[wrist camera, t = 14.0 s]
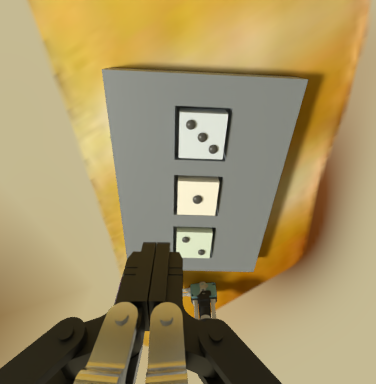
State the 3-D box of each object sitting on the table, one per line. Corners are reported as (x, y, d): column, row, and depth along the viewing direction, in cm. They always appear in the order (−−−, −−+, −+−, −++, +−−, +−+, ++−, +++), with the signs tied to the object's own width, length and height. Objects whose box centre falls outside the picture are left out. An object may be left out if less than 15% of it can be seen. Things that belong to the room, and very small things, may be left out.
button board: (110, 67, 24) (101, 69, 22) (295, 76, 25) (308, 79, 22) (132, 254, 39) (128, 269, 36) (248, 257, 40) (253, 271, 37)
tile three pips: (180, 107, 25) (179, 112, 23) (224, 109, 26) (228, 114, 23) (179, 150, 28) (178, 158, 26) (219, 151, 28) (222, 160, 26)
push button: (183, 296, 45) (182, 353, 36) (180, 278, 42) (179, 335, 34) (217, 293, 45) (224, 350, 36) (216, 275, 42) (224, 332, 33)
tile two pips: (177, 221, 34) (176, 232, 31) (211, 222, 34) (212, 233, 32) (176, 245, 36) (176, 258, 34) (208, 246, 36) (209, 259, 34)
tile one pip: (178, 172, 30) (177, 181, 27) (216, 173, 30) (219, 183, 28) (177, 204, 32) (177, 215, 30) (213, 205, 32) (215, 216, 30)
